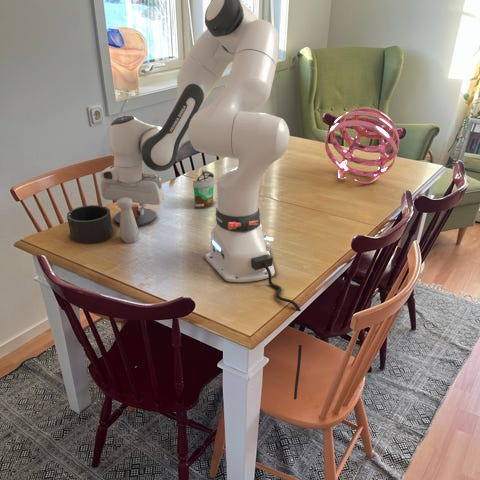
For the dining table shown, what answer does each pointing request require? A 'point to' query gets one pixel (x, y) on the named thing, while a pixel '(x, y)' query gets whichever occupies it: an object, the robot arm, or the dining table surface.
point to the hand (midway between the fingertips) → (135, 214)
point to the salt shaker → (127, 221)
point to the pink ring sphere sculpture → (355, 144)
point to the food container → (204, 190)
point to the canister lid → (139, 216)
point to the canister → (90, 224)
